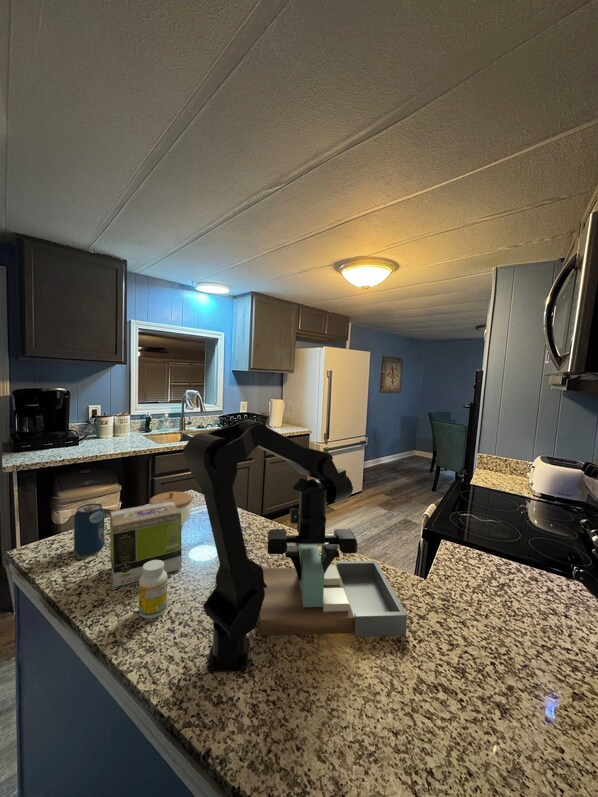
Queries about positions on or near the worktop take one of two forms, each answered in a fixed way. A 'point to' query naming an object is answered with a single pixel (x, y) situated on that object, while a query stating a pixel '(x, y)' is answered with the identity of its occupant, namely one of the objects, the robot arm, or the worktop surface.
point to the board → (297, 608)
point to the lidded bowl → (176, 502)
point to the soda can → (89, 529)
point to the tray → (372, 600)
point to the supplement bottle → (153, 590)
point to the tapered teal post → (311, 576)
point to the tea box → (144, 540)
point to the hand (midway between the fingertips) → (310, 579)
